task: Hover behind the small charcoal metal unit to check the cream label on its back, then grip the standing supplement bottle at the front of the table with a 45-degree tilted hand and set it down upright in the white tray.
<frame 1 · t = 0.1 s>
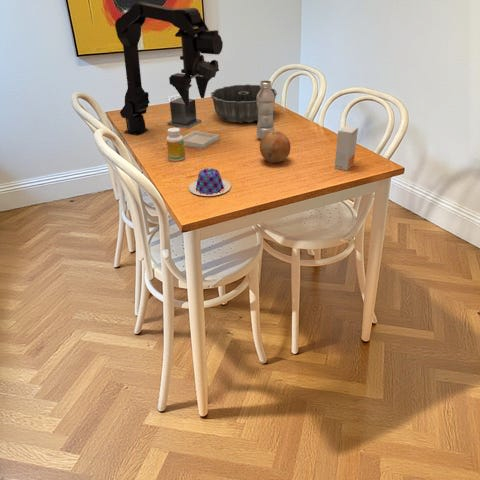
hand: (194, 101, 154), 15 cm above the table, tool pointing down, fingers open, 9 cm apart
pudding: (210, 189, 131), on the table
skincare box: (344, 167, 142), on the table
onion: (274, 162, 146), on the table
charcoal unit: (184, 123, 181), on the table
bundt pan: (243, 117, 187), on the table
supplement bottle: (176, 158, 150), on the table
plastic bottle: (265, 139, 164), on the table
white tray: (198, 142, 163), on the table
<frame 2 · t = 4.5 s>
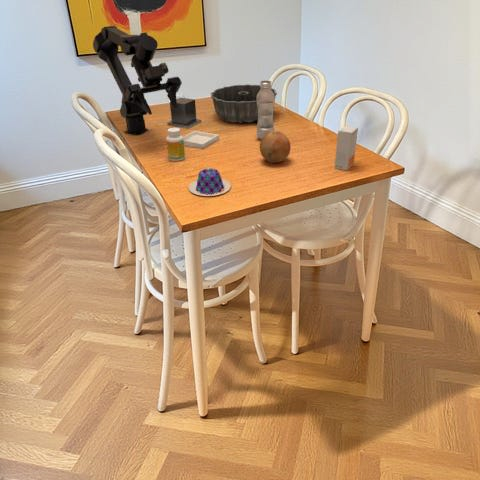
hand: (163, 111, 149), 13 cm above the table, tool tilted 45°, fingers open, 9 cm apart
nothing on the table moved.
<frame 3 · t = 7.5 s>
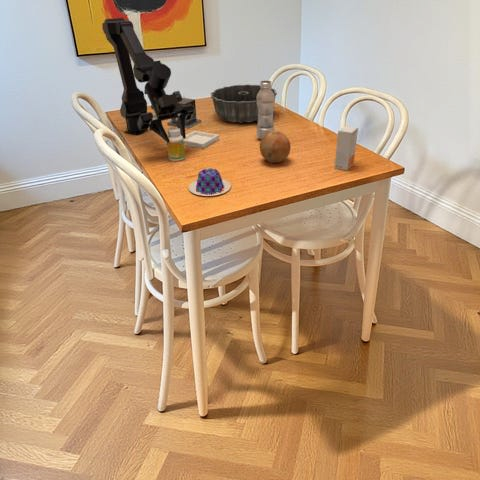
hand: (176, 140, 146), 7 cm above the table, tool tilted 45°, fingers closed on supplement bottle, 5 cm apart
supplement bottle: (176, 158, 150), on the table, touching gripper
everything else where it was.
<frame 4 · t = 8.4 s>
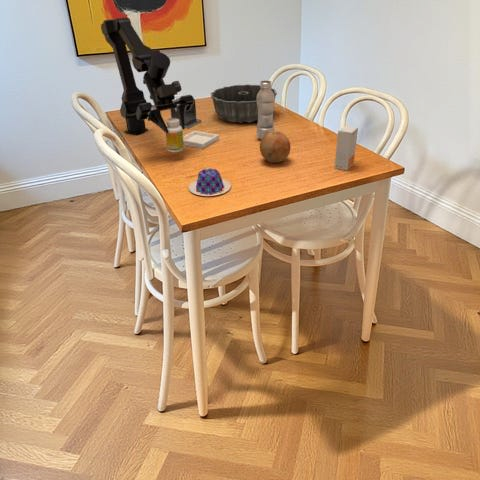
hand: (175, 130, 144), 10 cm above the table, tool tilted 45°, fingers closed on supplement bottle, 5 cm apart
supplement bottle: (175, 149, 149), point 3 cm above the table, touching gripper
everything else where it was.
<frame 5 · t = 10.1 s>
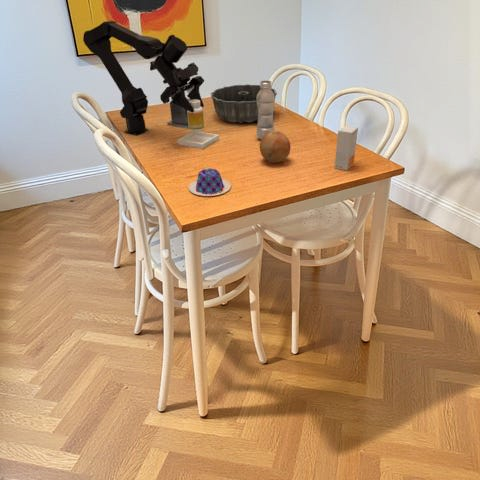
hand: (198, 109, 155), 12 cm above the table, tool tilted 45°, fingers closed on supplement bottle, 5 cm apart
supplement bottle: (196, 129, 159), point 5 cm above the table, touching gripper
when the fingers open (8 cm above the table, at t = 11.6 s): supplement bottle stays where it is, resting on white tray.
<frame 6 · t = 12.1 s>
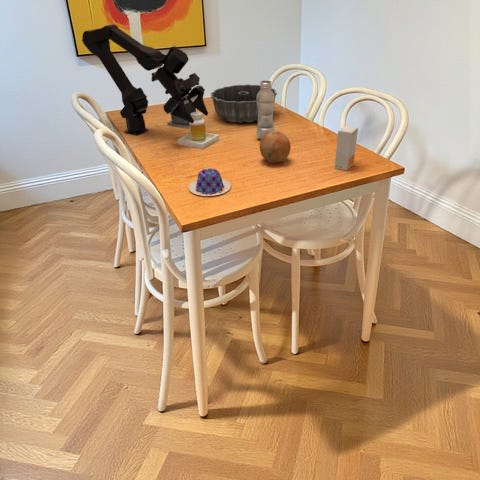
hand: (200, 118, 158), 9 cm above the table, tool tilted 45°, fingers open, 9 cm apart
supplement bottle: (198, 140, 163), resting on white tray
everything else where it was.
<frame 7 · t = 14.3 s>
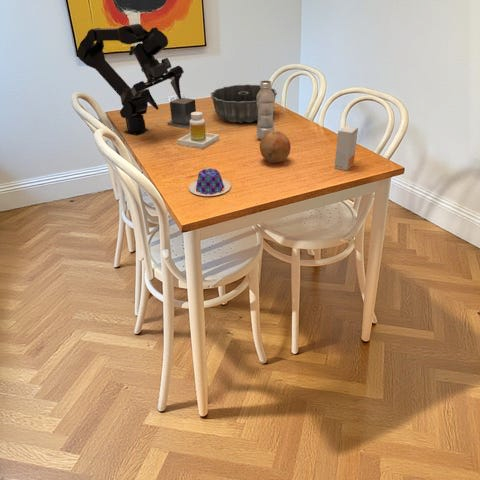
hand: (169, 104, 158), 13 cm above the table, tool tilted 30°, fingers open, 9 cm apart
nothing on the table moved.
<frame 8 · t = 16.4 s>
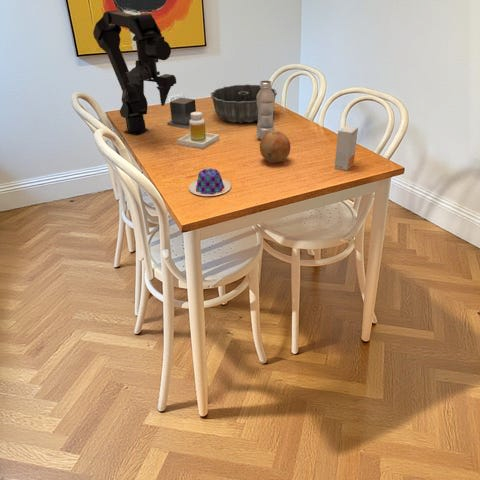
hand: (152, 104, 159), 13 cm above the table, tool pointing down, fingers open, 9 cm apart
nothing on the table moved.
at the end: supplement bottle 0.1 cm off-centre on the white tray, point 0.4 cm above the white tray's base; supplement bottle tilted 0°; the gripper is holding nothing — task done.
